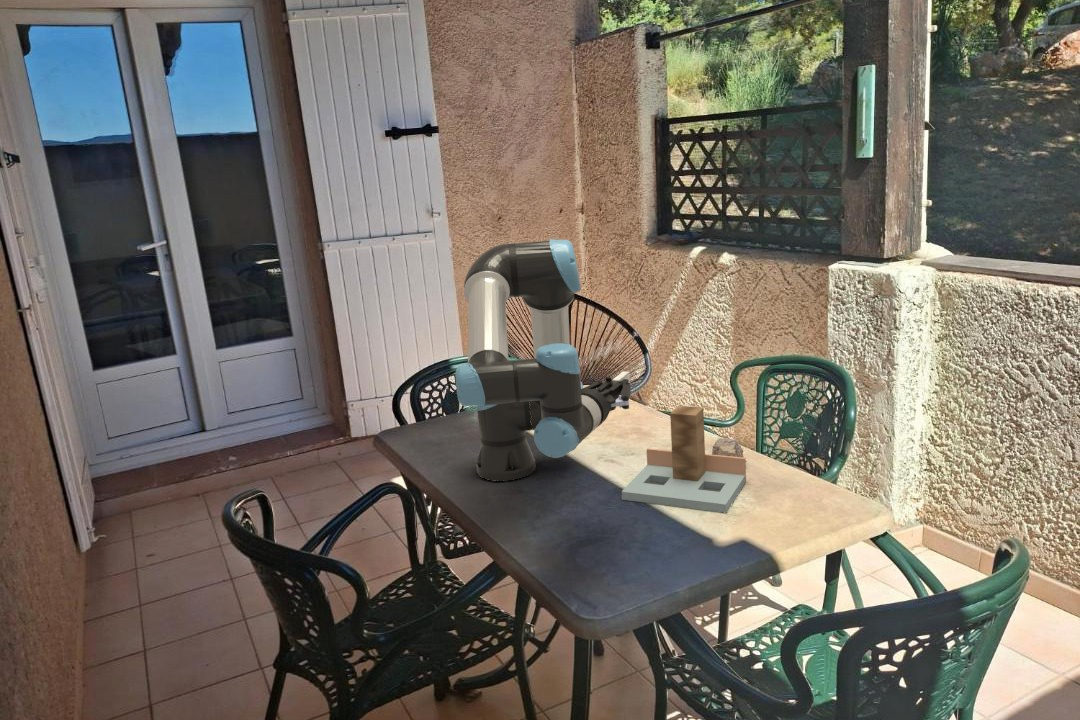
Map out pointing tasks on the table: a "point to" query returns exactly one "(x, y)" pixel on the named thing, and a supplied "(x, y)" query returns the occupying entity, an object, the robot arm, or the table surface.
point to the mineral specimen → (727, 448)
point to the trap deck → (688, 483)
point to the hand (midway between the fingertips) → (626, 377)
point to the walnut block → (688, 443)
